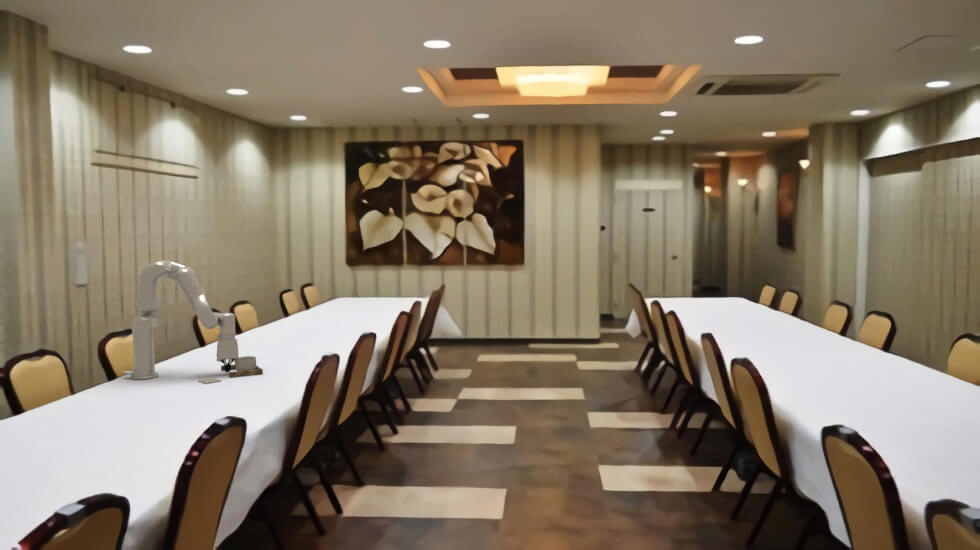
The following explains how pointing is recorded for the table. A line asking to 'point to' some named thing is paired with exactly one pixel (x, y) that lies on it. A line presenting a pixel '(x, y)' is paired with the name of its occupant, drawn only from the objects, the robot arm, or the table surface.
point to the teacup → (245, 363)
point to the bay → (244, 372)
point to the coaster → (209, 381)
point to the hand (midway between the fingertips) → (227, 371)
